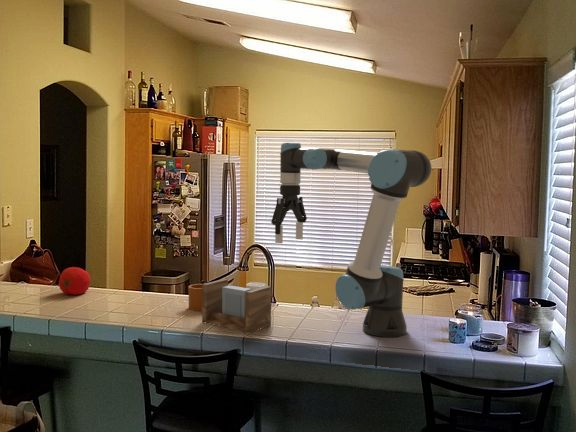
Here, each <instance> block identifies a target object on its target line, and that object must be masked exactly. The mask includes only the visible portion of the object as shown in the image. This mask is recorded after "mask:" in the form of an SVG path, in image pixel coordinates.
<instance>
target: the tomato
mask: <svg viewBox="0 0 576 432" xmlns="http://www.w3.org/2000/svg"><path fill="white" fill-rule="evenodd" d="M91 281H92V279H91V276H90V274H89V272H88V271H86V270H84V269H83V268H81V267H76V266H72V267H67V268H65V269H64V270H63V271H62V272H61V274H60V278H59V280H58V286H59V289H60V291H61V292H62V293H63V294H66V295H74V296H76V295H77V296H78V295H83V294H84V293H86V292H87V291H88V290H89V288H90V285H91Z"/></svg>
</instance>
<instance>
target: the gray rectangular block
mask: <svg viewBox="0 0 576 432" xmlns="http://www.w3.org/2000/svg"><path fill="white" fill-rule="evenodd" d="M250 290H251V289H249V288H246V287H241V286H237V285H236V286H235V285H229V284H228V286H225V287H222V314H226V315H231V316H236V317H240V318H245V319H246V292H247V291H250Z"/></svg>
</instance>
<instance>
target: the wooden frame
mask: <svg viewBox="0 0 576 432" xmlns="http://www.w3.org/2000/svg"><path fill="white" fill-rule="evenodd" d="M201 284H202V311H201V322H202V323H204V322H206V323H205V324H208V323H211V324H210V325H213V324H215V325H214V326H217V325H220V326H219V327H222V326H223V327H222V328H226V327H228V328H227V329H231V328H232V330H235V331H241V332H245V333H249V332H250V333H254V332H256V331H259V330H261V329H260V328H262V329H264V328H267V327H269V325H270V326H271V324H272V286H269V285H266V286H265V287H261V288H258V289H254V290H250V291H247V292H246V319H245V318H240V317H236V316H231V315H226V314H222V287H225V286H229V280H228V279H227V278H221V279H217V280H215V281H210V282H205V283H201ZM266 326H267V327H266ZM263 327H264V328H263ZM258 329H259V330H258ZM253 331H254V332H253Z"/></svg>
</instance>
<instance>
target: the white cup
mask: <svg viewBox="0 0 576 432" xmlns="http://www.w3.org/2000/svg"><path fill="white" fill-rule="evenodd" d="M245 286H246V287H245V288H249V289H251V290H254V289H258V288H261V287H265V286H267V284H266V283H265V282H259V281H258V282H255V281H254V282H248V283H246V285H245Z"/></svg>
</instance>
